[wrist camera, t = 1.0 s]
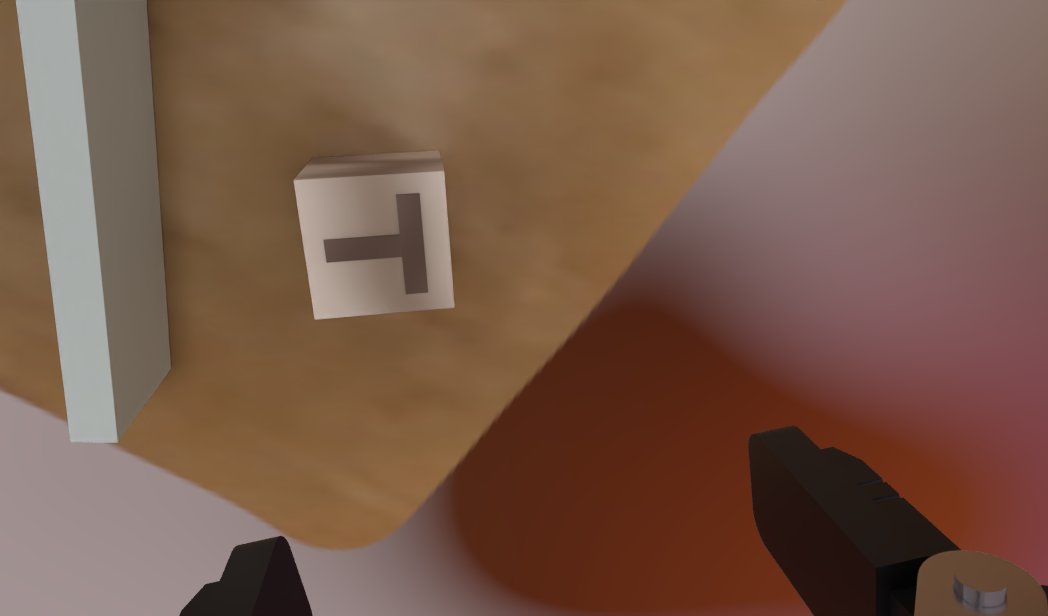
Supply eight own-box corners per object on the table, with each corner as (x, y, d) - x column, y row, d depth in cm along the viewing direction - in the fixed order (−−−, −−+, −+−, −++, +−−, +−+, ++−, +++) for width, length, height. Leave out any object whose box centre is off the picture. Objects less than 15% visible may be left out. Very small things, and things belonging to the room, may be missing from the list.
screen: (133, 367, 30) (70, 441, 24) (91, -117, 24) (-5, -164, 18) (171, 368, 30) (117, 442, 25) (139, -110, 24) (59, -154, 19)
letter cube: (329, 276, 30) (314, 320, 25) (312, 157, 28) (293, 180, 24) (448, 267, 31) (454, 308, 26) (438, 150, 29) (444, 171, 24)
